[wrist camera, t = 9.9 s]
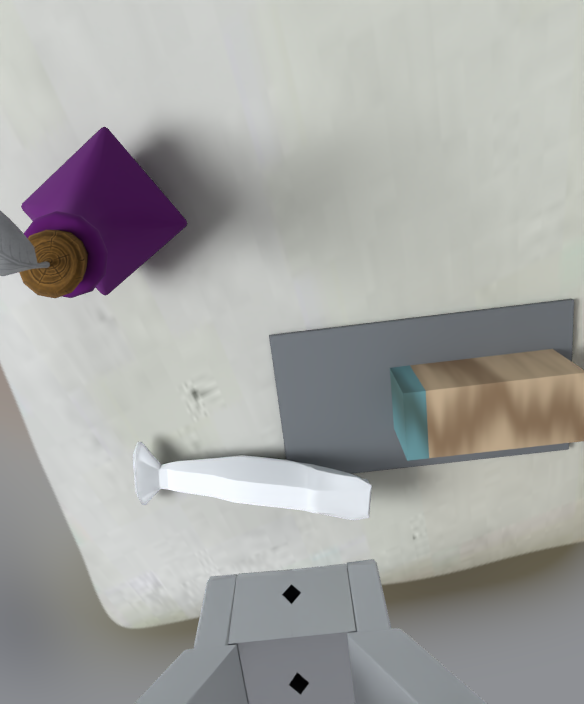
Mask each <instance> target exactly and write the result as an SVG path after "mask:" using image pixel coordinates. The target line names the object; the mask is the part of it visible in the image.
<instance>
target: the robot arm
mask: <svg viewBox="0 0 584 704" xmlns="http://www.w3.org/2000/svg"><path fill="white" fill-rule="evenodd" d="M134 704H488V703H487V702H485V701H484V700H483V699H482V698H481V697H480V696H478V695H477V694H476V693H475V692H474V691H473V690H471V689H470V688H469V687H468V686H467V685H466V684H465V683H463V682H462V681H461V680H460V679H459V678H458V677H456V676H455V675H454V674H453V673H452V672H451V671H449V670H448V669H447V668H446V667H445V666H444V665H442V664H441V663H440V662H439V661H438V660H437V659H435V658H434V657H433V656H432V655H431V654H430V653H429V652H427V651H426V650H425V649H424V648H423V647H422V646H420V645H419V644H418V643H417V642H416V641H415V640H413V639H412V638H411V637H410V636H409V635H408V634H406V633H405V632H404V631H403V630H402V629H400V628H396V629H391V624H390V620H389V616H388V611H387V607H386V602H385V598H384V594H383V589H382V585H381V580H380V576H379V572H378V567H377V563H376V561H375V560H374V559H372V560H364V561H356V562H349V563H347V565H346V564H338V565H329V566H320V567H311V568H302V569H293V570H292V569H290V570H278V571H266V572H253V573H241V574H238V575H236V574H233V575H222V576H211V577H210V578H209V580H208V581H207V584H206V589H205V594H204V599H203V604H202V609H201V614H200V619H199V624H198V629H197V634H196V639H195V644H194V649H187V650H184V651H183V652H182V654H181V655H180V656H179V657H178V658H177V659H176V660H175V661H174V662H173V663H172V664H171V665H170V666H169V667H168V668H167V669H166V670H165V672H164V673H163V674H162V675H161V676H160V677H159V678H158V679H157V680H156V681H155V682H154V683H153V684H152V685H151V686H150V687H149V688H148V689H147V691H146V692H145V693H144V694H143V695H142V696H141V697H140V698H139V699H138V700H137V701H136V702H135V703H134Z"/></svg>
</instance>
